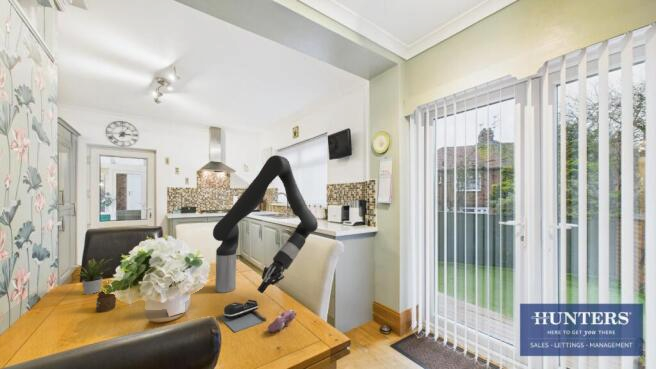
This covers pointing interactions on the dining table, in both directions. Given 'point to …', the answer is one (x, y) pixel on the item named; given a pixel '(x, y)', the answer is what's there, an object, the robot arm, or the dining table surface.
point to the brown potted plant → (105, 301)
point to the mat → (241, 321)
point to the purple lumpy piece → (282, 321)
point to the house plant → (92, 277)
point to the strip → (259, 315)
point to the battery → (240, 308)
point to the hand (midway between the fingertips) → (259, 291)
